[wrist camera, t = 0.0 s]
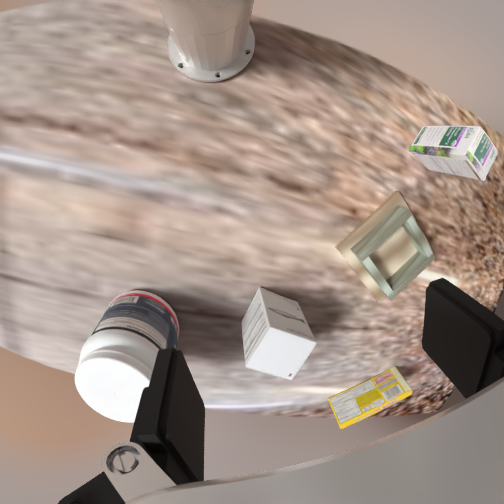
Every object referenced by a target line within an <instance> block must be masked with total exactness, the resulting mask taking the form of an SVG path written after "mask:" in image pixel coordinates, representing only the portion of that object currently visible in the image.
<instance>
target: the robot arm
mask: <svg viewBox="0 0 504 504" xmlns="http://www.w3.org/2000/svg"><path fill="white" fill-rule="evenodd" d="M155 2H156V4H157V6H158V8H159V10H160V12H161V14H162V16H163V19H164V21H165V23H166V25H167V27H168V30H169V32H170V35H169V37H168V42H167V51H168V55H169V59H170V61H171V62H172V64H173V66H174V67H175V68H176V70H178V71H179V72H180V73H181V74H182V75H184V76H186V77H187V78H189V79H192V80H195V81H200V82H218V81H222V80H225V79H228V78H231V77H232V76H234V75H236V74H238V73H239V72H240V71H241V70H243V69H244V68H245V66H246V65H247V64H248V63H249V61H250V59H251V58H252V55H253V53H254V48H255V36H254V32H253V30H252V28H251V26H250V24H249V22H250V17H251V13H252V8H253V4H254V0H155ZM247 52H248V53H249V54H248V55H247V54H246V53H247ZM181 66H184V67H183V68H180V67H181ZM217 75H220V77H219V78H218V77H216V76H217ZM422 347H423V349H424V351H425V352H426V353H427V354H428V355H429V357H430V358H431V359H432V360H433V361H434V362H435V363H436V364H437V366H438V367H439V368H440V369H441V370H442V371H443V372H444V374H445V375H446V376H447V377H448V378H449V379H450V380H451V382H452V383H453V384H454V385H455V386H456V387H457V389H458V390H459V391H460V392H461V393H462V394H463V396H464V397H465V398H466V399H465V400H463V401H462V402H460V403H458V404H456V405H454V406H452V407H450V408H448V409H446V410H445V411H442V412H440V413H438V414H436V415H434V416H432V417H430V418H428V419H426V420H424V421H421V422H419V423H417V424H415V425H412V426H410V427H408V428H406V429H403V430H401V431H398V432H396V433H393V434H391V435H388V436H386V437H383V438H381V439H378V440H375V441H373V442H370V443H367V444H364V445H361V446H358V447H355V448H352V449H350V450H346V451H343V452H340V453H336V454H333V455H330V456H326V457H323V458H319V459H316V460H312V461H308V462H304V463H300V464H296V465H292V466H287V467H283V468H278V469H273V470H268V471H263V472H258V473H252V474H247V475H241V476H234V477H227V478H220V479H213V480H207V481H204V427H205V407H204V403H203V400H202V398H201V396H200V394H199V391H198V389H197V387H196V385H195V382H194V380H193V378H192V375H191V373H190V370H189V368H188V366H187V363H186V361H185V358H184V356H183V353H182V352H181V350H179V351H177V350H176V349H175V348H174V347H172V348H166V349H160V350H158V353H157V357H156V360H155V364H154V368H153V372H152V375H151V379H150V383H149V387H145V388H144V389H143V391H142V395H141V399H140V402H139V406H138V410H137V414H136V418H135V422H134V426H133V430H132V434H131V438H130V442H123V443H118V444H116V445H114V446H112V447H111V448H110V449H109V450H108V451H107V452H106V453H105V455H104V457H103V459H102V467H103V470H104V472H102V473H101V474H99V475H98V476H96V477H95V478H93V479H92V480H90V481H89V482H87V483H86V484H84V485H83V486H81V487H80V488H78V489H76V490H75V491H73V492H72V493H71V494H69V495H67V496H65V497H64V498H63V499H62V500H60V502H59V503H58V504H504V321H503V320H502V319H501V318H499V317H498V316H497V315H495V314H494V313H493V312H491V311H490V310H489V309H487V308H486V307H484V306H483V305H482V304H480V303H479V302H478V301H476V300H475V299H473V298H472V297H471V296H469V295H468V294H466V293H465V292H463V291H462V290H461V289H459V288H458V287H456V286H455V285H453V284H452V283H450V282H449V281H447V280H446V279H444V278H441V279H438V280H435V281H432V282H430V284H429V287H427V289H426V301H425V316H424V327H423V337H422Z"/></svg>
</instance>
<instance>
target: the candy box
mask: <svg viewBox="0 0 504 504" xmlns="http://www.w3.org/2000/svg"><path fill="white" fill-rule="evenodd" d="M411 394H412V389H411V387H410V386H409V385H408V383H407V382H406V380H405V379H404V378H403V376H402V375H401V373H400V372H399V370H398V369H397V368H396V366H394V367H392V368H390V369H389V370H387V371H385V372H383V373H381V374H379V375H377V376H375V377H373V378H371V379H369V380H367V381H365V382H363V383H361V384H358V385H356V386H354V387H352V388H350V389H348V390H345V391H343V392H341V393H339V394H337V395H334V396H332V397H329V398H328V401H329V403H330V405H331V408H332V410H333V412H334V414H335V417H336V419H337V422H338V424H339V427H340V429H343V428H345V427H347V426H350V425H352V424H354V423H356V422H358V421H360V420H363V419H365V418H367V417H369V416H371V415H373V414H375V413H377V412H379V411H381V410H383V409H385V408H387V407H389V406H391V405H393V404H395V403H396V402H398V401H400V400H402V399H404V398H406V397H408V396H409V395H411Z"/></svg>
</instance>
